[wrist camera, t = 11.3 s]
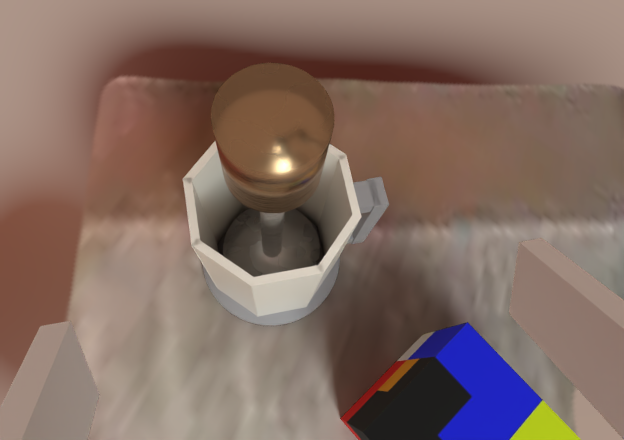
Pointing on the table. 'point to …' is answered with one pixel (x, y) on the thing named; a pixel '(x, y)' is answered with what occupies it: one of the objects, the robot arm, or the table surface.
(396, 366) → the puzzle toy
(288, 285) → the jug
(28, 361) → the robot arm
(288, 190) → the plunger
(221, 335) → the table surface
